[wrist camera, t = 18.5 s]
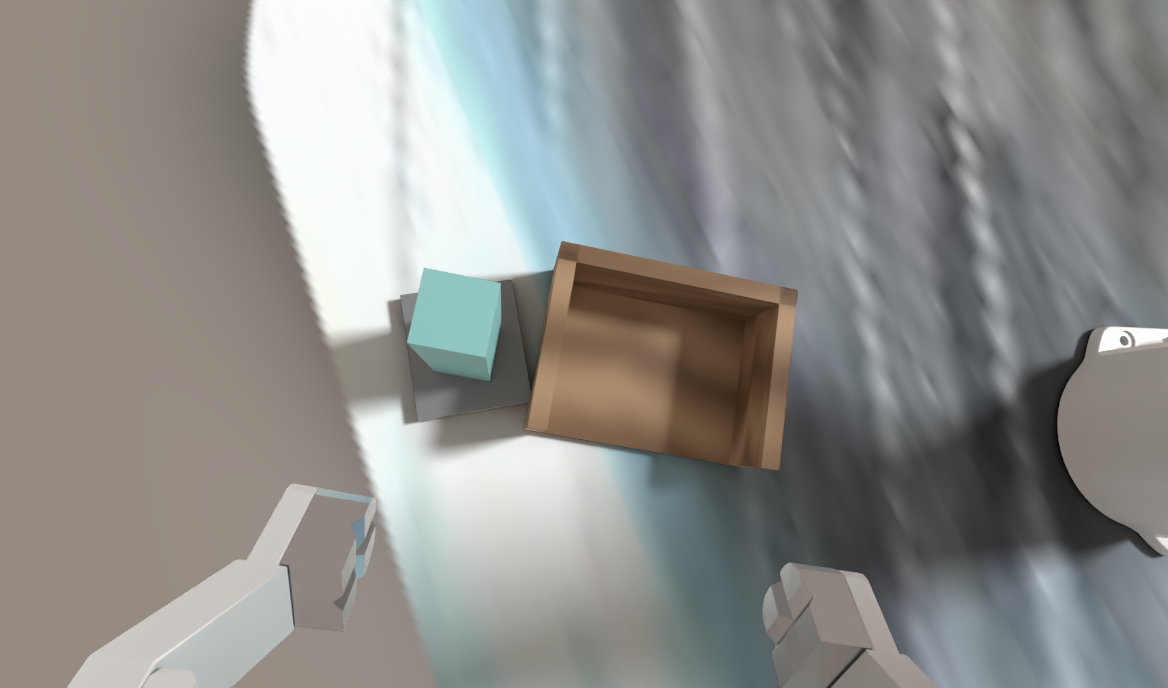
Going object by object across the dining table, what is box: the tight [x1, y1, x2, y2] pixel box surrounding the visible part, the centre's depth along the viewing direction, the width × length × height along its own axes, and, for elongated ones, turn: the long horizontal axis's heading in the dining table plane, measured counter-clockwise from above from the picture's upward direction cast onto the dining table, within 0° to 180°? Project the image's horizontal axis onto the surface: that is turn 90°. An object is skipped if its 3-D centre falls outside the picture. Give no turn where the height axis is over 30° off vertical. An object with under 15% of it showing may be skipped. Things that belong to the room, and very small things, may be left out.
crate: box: [524, 241, 798, 471], centre depth 42 cm, size 12×16×6 cm
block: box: [407, 268, 501, 381], centre depth 36 cm, size 4×4×12 cm
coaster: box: [400, 280, 531, 421], centre depth 43 cm, size 8×9×1 cm
